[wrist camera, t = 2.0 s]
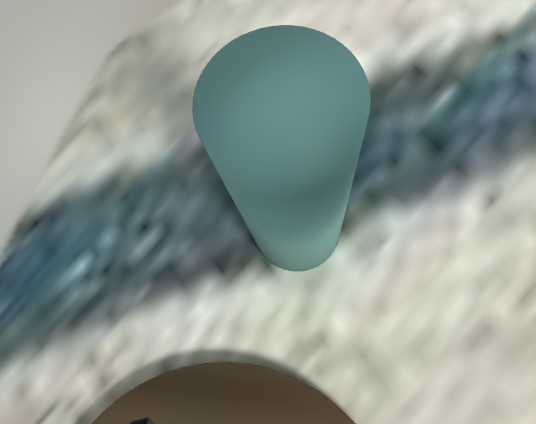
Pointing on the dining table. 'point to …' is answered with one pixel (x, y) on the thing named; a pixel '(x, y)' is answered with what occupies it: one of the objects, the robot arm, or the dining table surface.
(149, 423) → the robot arm
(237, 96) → the teal peg
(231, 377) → the walnut stand
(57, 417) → the dining table surface
